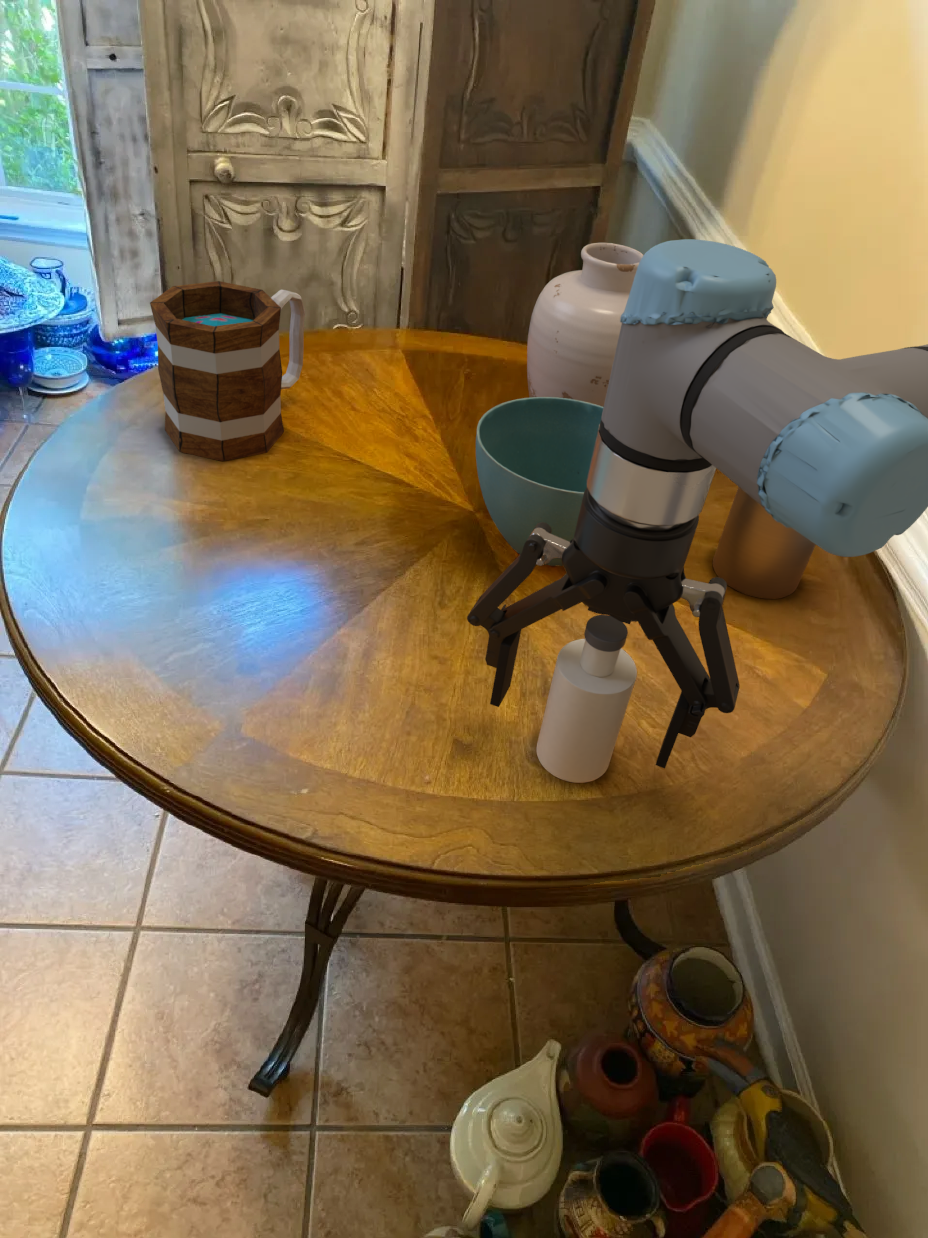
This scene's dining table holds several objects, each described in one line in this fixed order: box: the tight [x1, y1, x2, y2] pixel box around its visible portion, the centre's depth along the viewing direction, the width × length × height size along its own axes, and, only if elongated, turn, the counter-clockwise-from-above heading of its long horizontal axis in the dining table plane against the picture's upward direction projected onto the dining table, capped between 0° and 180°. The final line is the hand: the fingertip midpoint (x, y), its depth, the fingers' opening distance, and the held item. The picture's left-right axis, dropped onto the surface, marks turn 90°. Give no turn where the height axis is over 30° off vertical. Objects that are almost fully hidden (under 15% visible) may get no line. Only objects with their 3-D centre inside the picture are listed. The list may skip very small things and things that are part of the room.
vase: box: [526, 242, 644, 407], centre depth 107 cm, size 16×16×23 cm
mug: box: [149, 280, 306, 462], centre depth 104 cm, size 20×14×15 cm
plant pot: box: [475, 397, 604, 567], centre depth 93 cm, size 18×18×12 cm
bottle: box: [535, 614, 638, 784], centre depth 70 cm, size 6×6×14 cm
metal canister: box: [712, 486, 817, 600], centre depth 91 cm, size 9×9×16 cm
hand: (580, 724), depth 72 cm, fingers open, 13 cm apart
